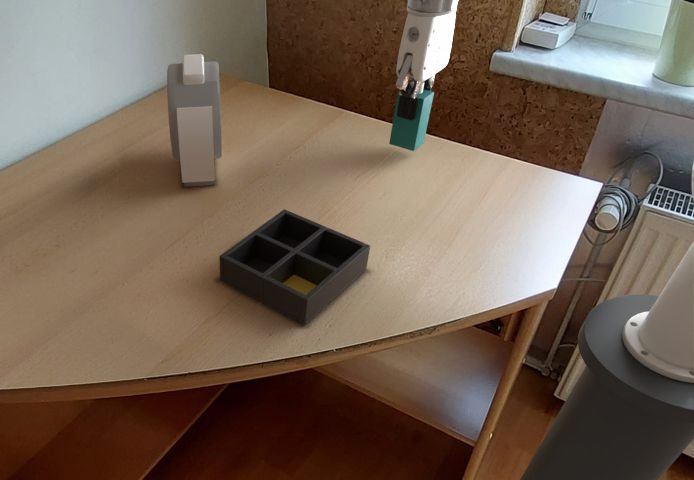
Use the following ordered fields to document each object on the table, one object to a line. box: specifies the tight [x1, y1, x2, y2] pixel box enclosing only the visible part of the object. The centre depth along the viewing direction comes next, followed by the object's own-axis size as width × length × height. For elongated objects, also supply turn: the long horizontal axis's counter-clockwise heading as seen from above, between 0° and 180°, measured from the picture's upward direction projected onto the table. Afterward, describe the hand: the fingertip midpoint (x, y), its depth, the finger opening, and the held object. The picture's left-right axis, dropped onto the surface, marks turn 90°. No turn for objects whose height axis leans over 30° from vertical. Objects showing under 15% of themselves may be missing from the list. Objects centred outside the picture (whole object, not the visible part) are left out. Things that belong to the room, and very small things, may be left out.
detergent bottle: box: [388, 81, 435, 152], centre depth 110 cm, size 5×4×11 cm
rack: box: [218, 209, 371, 326], centre depth 90 cm, size 15×15×5 cm
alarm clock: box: [166, 53, 223, 187], centre depth 108 cm, size 18×8×20 cm, turn 0°
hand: (412, 112), depth 109 cm, fingers closed on detergent bottle, 3 cm apart
